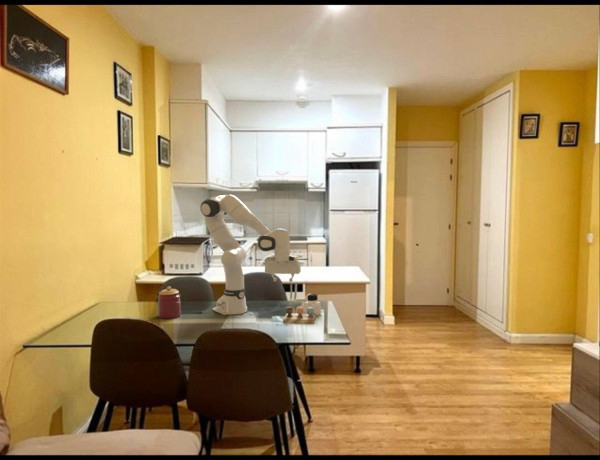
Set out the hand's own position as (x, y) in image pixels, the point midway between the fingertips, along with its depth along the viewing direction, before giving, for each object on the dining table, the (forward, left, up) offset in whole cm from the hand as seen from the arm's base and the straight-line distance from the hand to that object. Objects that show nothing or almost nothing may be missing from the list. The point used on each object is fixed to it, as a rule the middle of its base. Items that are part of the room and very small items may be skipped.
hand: (282, 281), depth 224 cm
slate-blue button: (+14, +8, -20) cm, 25 cm away
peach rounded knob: (+8, +5, -20) cm, 22 cm away
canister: (-58, -36, -22) cm, 72 cm away
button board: (+8, +5, -22) cm, 24 cm away
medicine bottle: (+7, +18, -22) cm, 29 cm away
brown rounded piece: (+3, +2, -20) cm, 20 cm away
